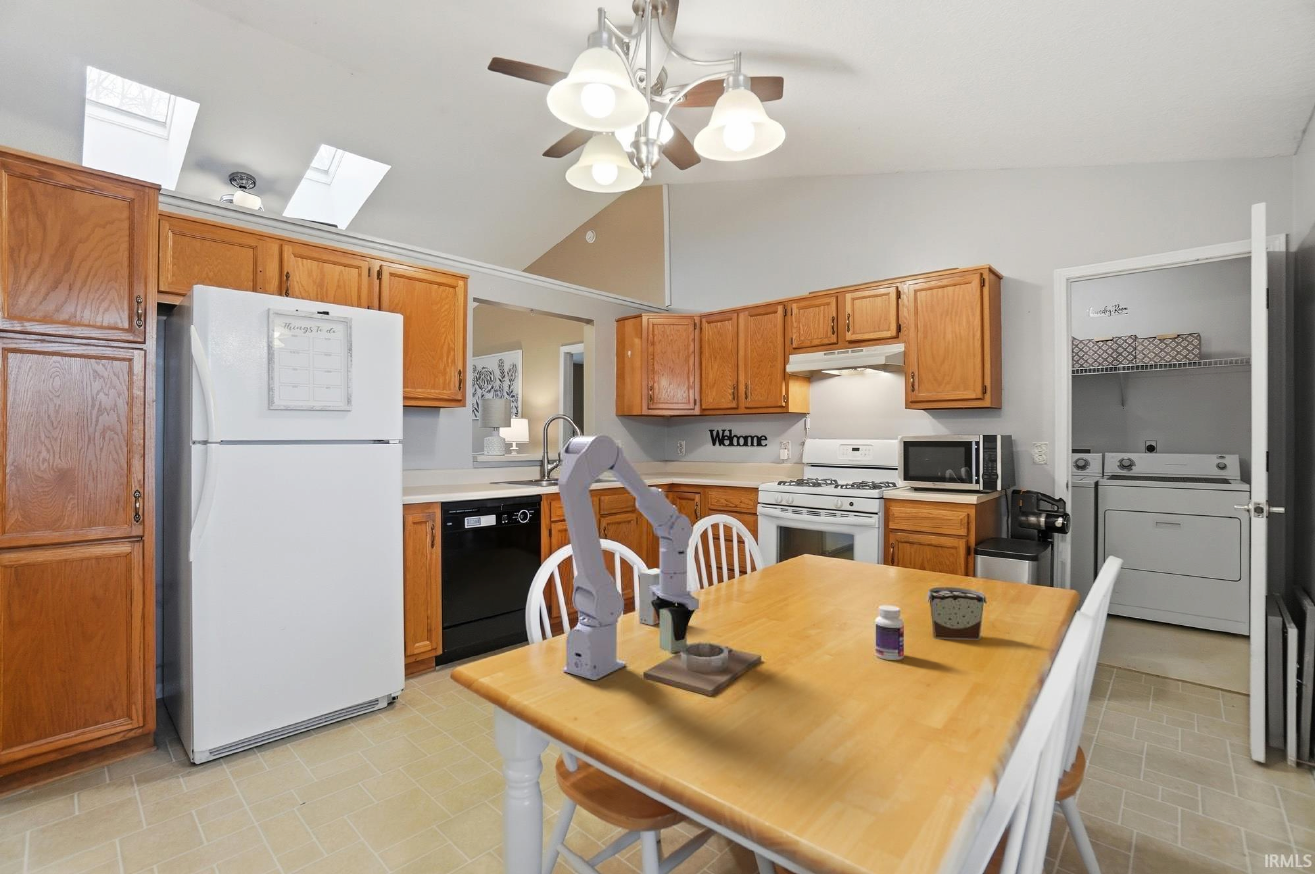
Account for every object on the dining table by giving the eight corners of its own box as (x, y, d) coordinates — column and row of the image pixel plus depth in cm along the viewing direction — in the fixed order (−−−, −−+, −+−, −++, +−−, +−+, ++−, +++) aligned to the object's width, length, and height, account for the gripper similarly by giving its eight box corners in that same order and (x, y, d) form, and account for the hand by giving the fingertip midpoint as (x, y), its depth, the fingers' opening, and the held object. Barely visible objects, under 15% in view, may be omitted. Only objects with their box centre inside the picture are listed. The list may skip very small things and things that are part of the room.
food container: (974, 631, 138) (974, 587, 138) (986, 640, 131) (986, 593, 131) (918, 629, 139) (918, 585, 139) (927, 638, 133) (927, 592, 133)
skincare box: (652, 626, 141) (653, 574, 141) (638, 622, 143) (638, 572, 143) (668, 620, 146) (668, 570, 146) (654, 616, 148) (654, 567, 148)
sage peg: (686, 649, 125) (686, 610, 125) (671, 653, 123) (671, 613, 123) (675, 643, 129) (675, 606, 129) (659, 647, 126) (659, 609, 126)
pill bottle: (906, 662, 118) (906, 612, 118) (877, 660, 119) (877, 610, 119) (901, 652, 124) (901, 604, 124) (873, 650, 125) (873, 603, 125)
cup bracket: (710, 696, 102) (710, 675, 102) (643, 677, 110) (643, 658, 110) (761, 660, 119) (761, 642, 119) (699, 646, 127) (699, 629, 127)
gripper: (710, 575, 122) (710, 642, 122) (668, 562, 134) (667, 624, 134) (683, 579, 118) (682, 649, 118) (641, 566, 130) (641, 630, 130)
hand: (673, 636), depth 126 cm, fingers closed on sage peg, 4 cm apart
